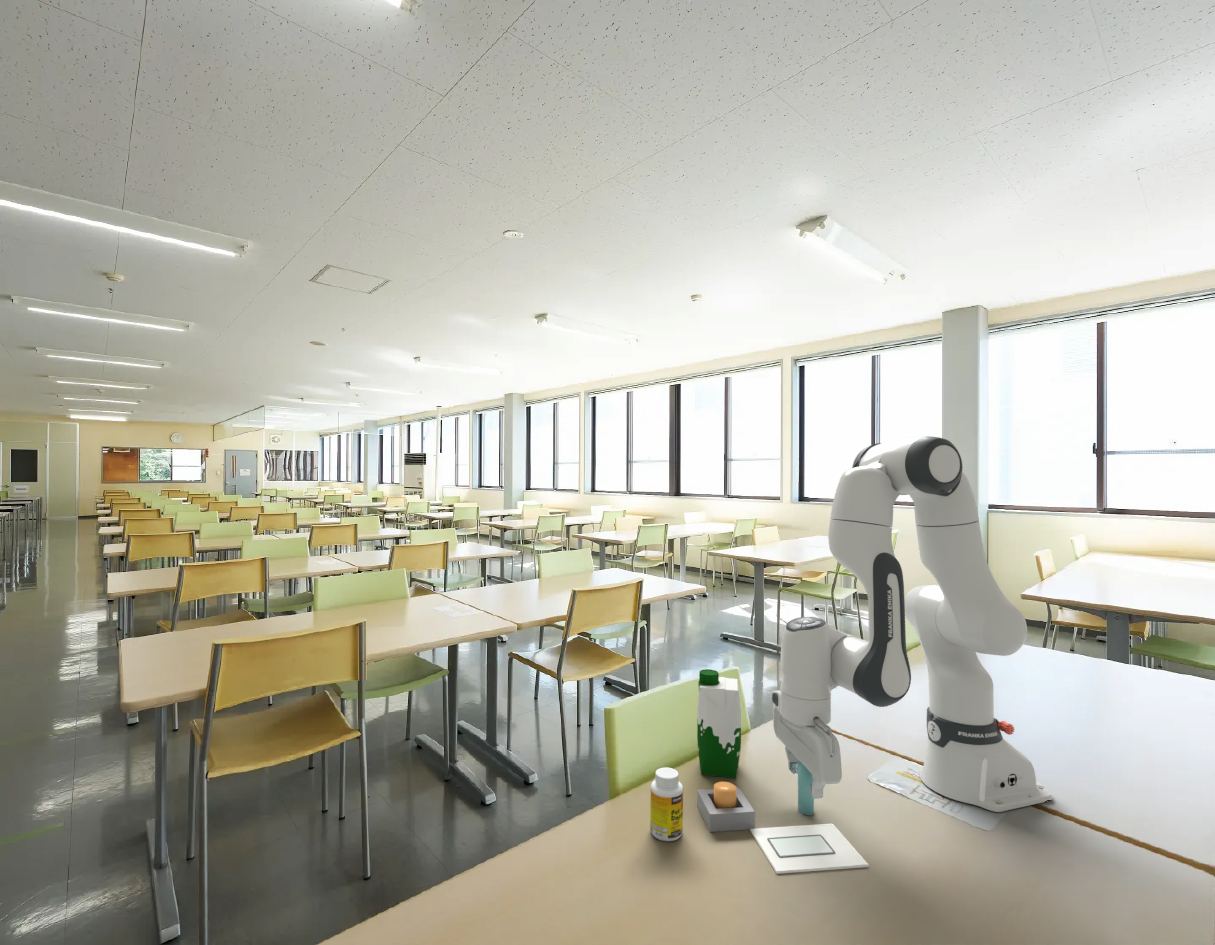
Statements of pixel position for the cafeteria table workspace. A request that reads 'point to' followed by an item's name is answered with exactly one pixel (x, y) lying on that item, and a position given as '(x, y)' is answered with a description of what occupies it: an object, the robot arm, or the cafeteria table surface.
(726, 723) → the milk carton
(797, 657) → the robot arm
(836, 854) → the worksheet
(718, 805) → the button
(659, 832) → the supplement bottle
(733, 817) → the button housing
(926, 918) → the cafeteria table surface
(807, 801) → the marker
